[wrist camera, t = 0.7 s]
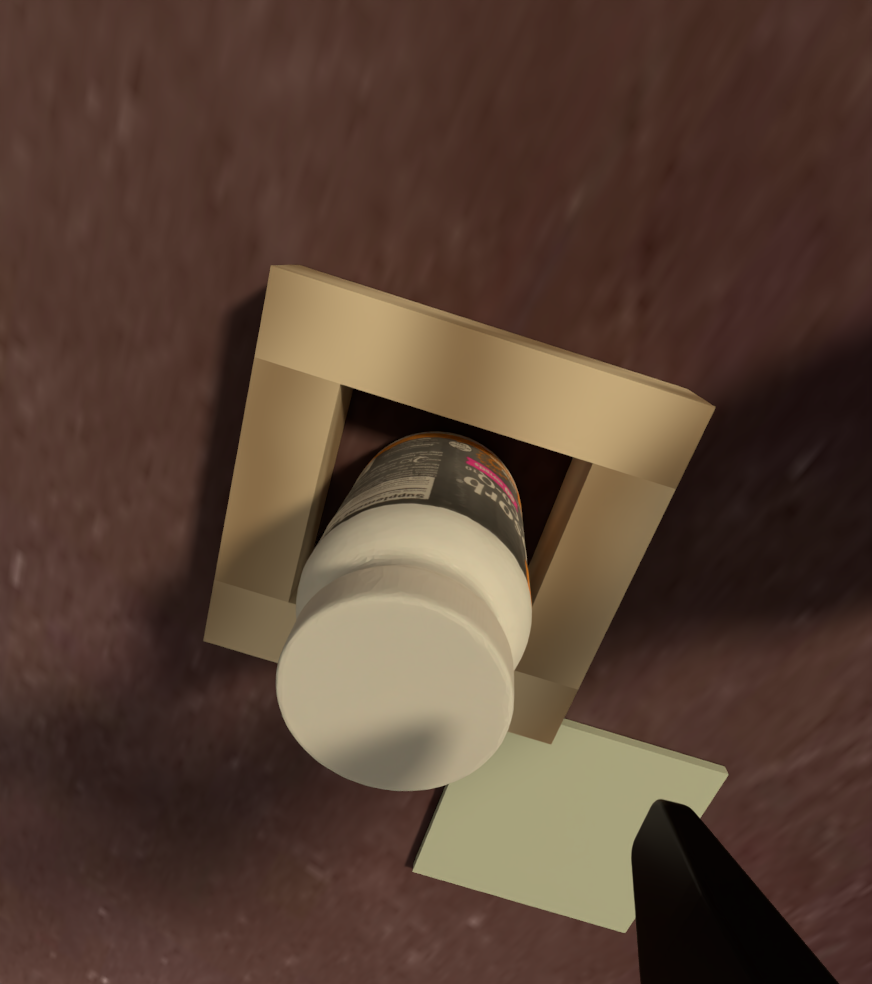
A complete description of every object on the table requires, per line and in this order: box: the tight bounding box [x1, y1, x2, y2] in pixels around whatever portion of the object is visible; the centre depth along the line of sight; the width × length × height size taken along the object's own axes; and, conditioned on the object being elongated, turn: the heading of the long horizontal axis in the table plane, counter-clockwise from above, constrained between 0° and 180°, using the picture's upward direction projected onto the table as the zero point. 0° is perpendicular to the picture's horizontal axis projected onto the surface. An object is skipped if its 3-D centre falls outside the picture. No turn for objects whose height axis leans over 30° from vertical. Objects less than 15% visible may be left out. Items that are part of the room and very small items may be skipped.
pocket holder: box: [203, 265, 716, 744], centre depth 19 cm, size 12×12×2 cm
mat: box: [412, 719, 728, 933], centre depth 25 cm, size 10×10×1 cm
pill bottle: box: [276, 431, 532, 791], centre depth 16 cm, size 6×6×10 cm
